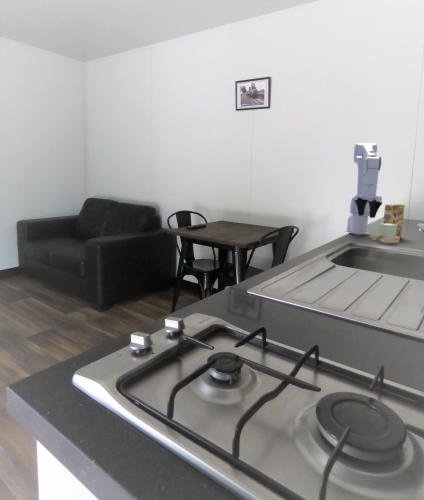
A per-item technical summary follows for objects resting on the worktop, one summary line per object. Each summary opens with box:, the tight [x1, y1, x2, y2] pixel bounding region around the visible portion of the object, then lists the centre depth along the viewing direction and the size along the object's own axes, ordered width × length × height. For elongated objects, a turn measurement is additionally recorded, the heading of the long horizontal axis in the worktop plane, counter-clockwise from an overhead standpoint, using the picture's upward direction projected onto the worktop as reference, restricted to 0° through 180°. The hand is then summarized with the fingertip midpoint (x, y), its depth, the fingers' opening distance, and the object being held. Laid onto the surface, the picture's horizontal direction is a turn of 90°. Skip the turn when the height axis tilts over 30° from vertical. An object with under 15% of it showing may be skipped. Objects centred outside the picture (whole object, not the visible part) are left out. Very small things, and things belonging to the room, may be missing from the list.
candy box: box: [382, 203, 406, 238], centre depth 175 cm, size 9×4×15 cm, turn 118°
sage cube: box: [378, 223, 397, 237], centre depth 164 cm, size 5×5×5 cm
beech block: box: [374, 233, 401, 244], centre depth 165 cm, size 7×7×3 cm
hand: (366, 216), depth 166 cm, fingers open, 7 cm apart
